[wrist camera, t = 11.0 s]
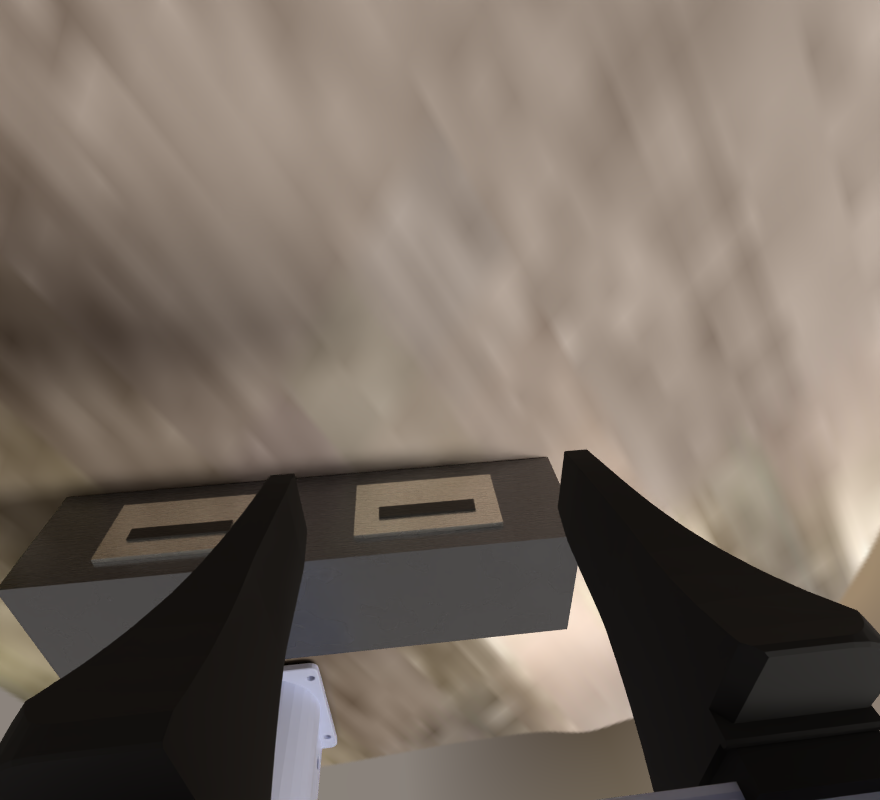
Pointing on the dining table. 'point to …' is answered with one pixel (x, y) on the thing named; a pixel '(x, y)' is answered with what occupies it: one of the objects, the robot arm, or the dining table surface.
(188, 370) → the dining table surface
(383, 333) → the dining table surface
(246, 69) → the dining table surface
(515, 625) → the dark gray slotted box
